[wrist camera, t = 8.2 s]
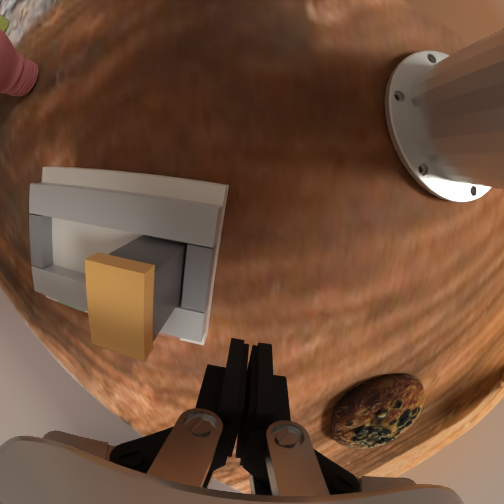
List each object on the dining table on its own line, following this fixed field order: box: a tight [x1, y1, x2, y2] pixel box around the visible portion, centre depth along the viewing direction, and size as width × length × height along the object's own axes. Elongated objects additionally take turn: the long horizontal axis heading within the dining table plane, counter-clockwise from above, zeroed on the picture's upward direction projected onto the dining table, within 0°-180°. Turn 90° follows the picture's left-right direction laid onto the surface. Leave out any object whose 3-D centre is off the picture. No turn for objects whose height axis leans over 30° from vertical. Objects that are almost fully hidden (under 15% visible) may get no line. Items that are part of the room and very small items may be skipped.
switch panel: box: [29, 166, 229, 345], centre depth 19 cm, size 16×12×3 cm
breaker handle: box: [85, 235, 188, 361], centre depth 15 cm, size 3×5×7 cm
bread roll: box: [331, 374, 425, 449], centre depth 23 cm, size 11×11×5 cm
